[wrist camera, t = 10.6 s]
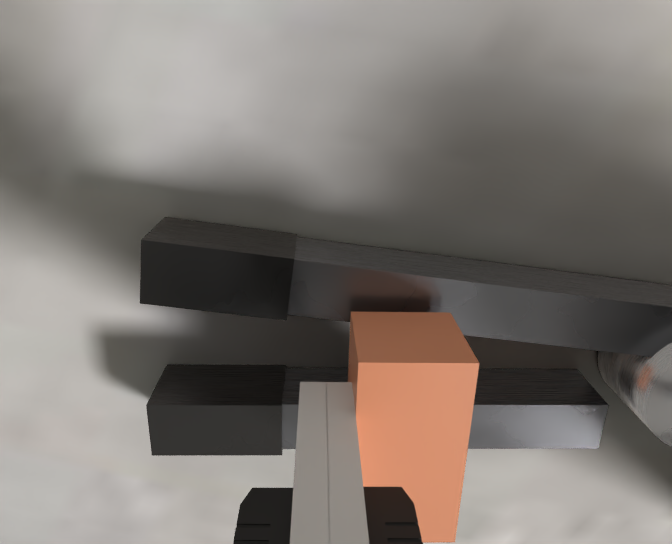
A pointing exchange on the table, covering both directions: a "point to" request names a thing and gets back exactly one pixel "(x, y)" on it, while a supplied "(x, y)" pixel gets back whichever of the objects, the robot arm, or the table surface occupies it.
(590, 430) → the tongs fixed arm
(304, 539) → the robot arm
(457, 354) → the orange rectangular block
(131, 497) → the table surface
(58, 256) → the table surface
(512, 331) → the grey long bar
